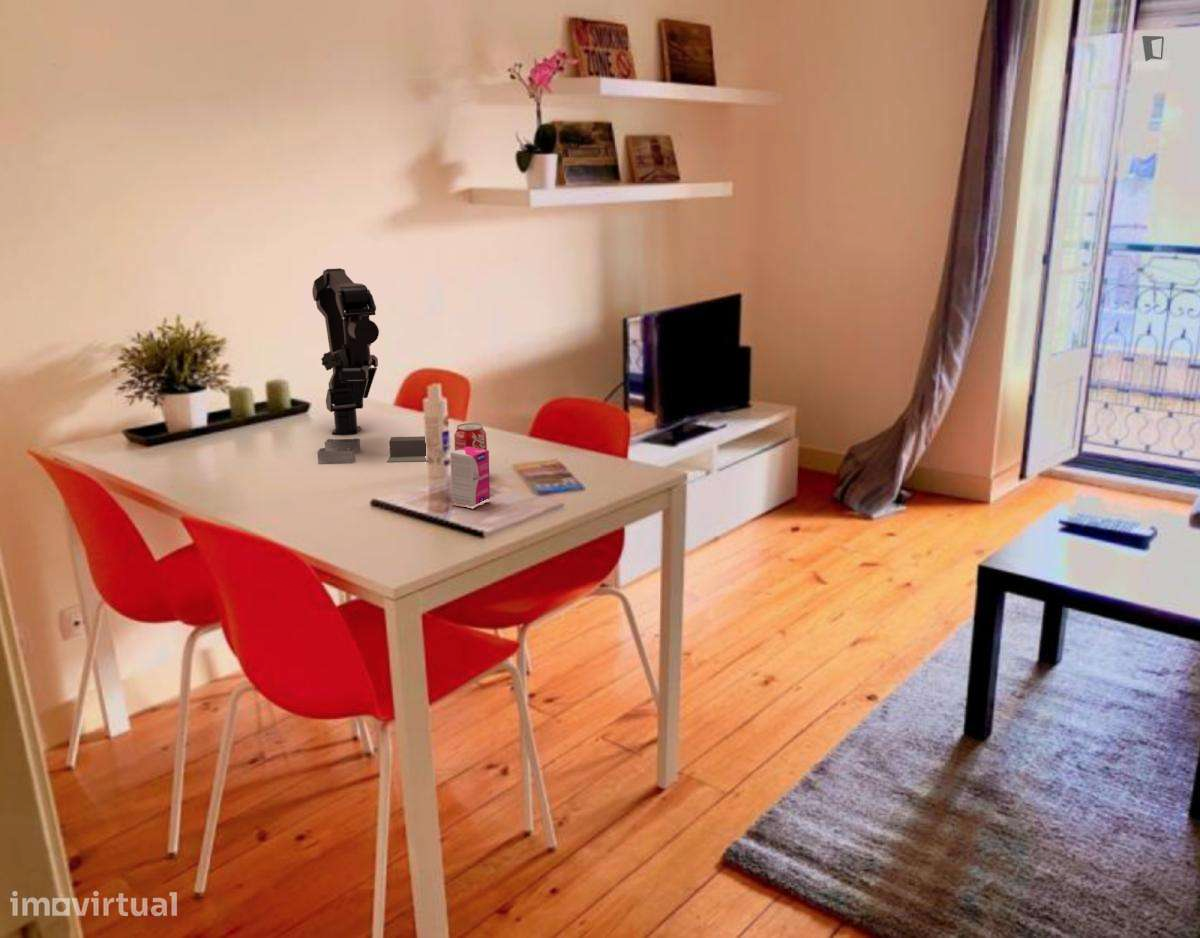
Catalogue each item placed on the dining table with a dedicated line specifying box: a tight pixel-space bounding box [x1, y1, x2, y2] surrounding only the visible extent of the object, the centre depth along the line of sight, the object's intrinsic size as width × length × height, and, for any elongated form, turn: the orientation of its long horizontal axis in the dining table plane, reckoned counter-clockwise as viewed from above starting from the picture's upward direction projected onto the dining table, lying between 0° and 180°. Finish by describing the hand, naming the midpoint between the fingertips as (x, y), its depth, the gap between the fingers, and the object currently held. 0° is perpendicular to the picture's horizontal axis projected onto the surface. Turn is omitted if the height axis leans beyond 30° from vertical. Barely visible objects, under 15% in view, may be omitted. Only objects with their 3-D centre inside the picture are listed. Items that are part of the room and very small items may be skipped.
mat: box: [386, 455, 427, 463], centre depth 234 cm, size 11×11×1 cm
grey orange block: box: [388, 435, 426, 457], centre depth 233 cm, size 4×11×4 cm, turn 94°
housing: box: [316, 437, 362, 465], centre depth 232 cm, size 11×8×3 cm
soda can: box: [454, 422, 488, 451], centre depth 214 cm, size 7×7×12 cm
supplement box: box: [450, 446, 491, 506], centre depth 197 cm, size 6×6×12 cm
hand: (361, 402), depth 236 cm, fingers open, 9 cm apart
